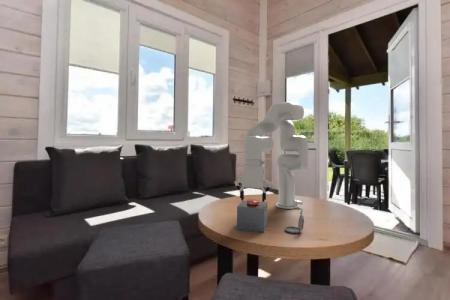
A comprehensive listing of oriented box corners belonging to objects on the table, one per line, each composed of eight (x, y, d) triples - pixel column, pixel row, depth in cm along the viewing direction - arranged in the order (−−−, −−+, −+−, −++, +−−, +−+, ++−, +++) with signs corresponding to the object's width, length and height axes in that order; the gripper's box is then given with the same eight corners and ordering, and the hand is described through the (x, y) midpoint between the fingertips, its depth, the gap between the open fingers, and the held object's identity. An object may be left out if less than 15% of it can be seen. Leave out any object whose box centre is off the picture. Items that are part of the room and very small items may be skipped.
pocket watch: (283, 228, 113) (283, 206, 112) (301, 228, 114) (301, 206, 113) (289, 235, 105) (289, 211, 104) (308, 235, 105) (309, 211, 105)
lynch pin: (259, 224, 117) (259, 199, 117) (257, 228, 112) (258, 202, 111) (247, 223, 119) (247, 199, 118) (245, 227, 113) (245, 201, 113)
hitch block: (267, 223, 119) (267, 202, 119) (264, 232, 108) (264, 208, 107) (242, 221, 123) (242, 200, 122) (236, 229, 111) (237, 206, 111)
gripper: (273, 163, 115) (272, 199, 116) (236, 162, 120) (236, 197, 121) (271, 164, 108) (271, 203, 109) (232, 163, 113) (232, 201, 113)
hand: (252, 200), depth 115 cm, fingers open, 9 cm apart
